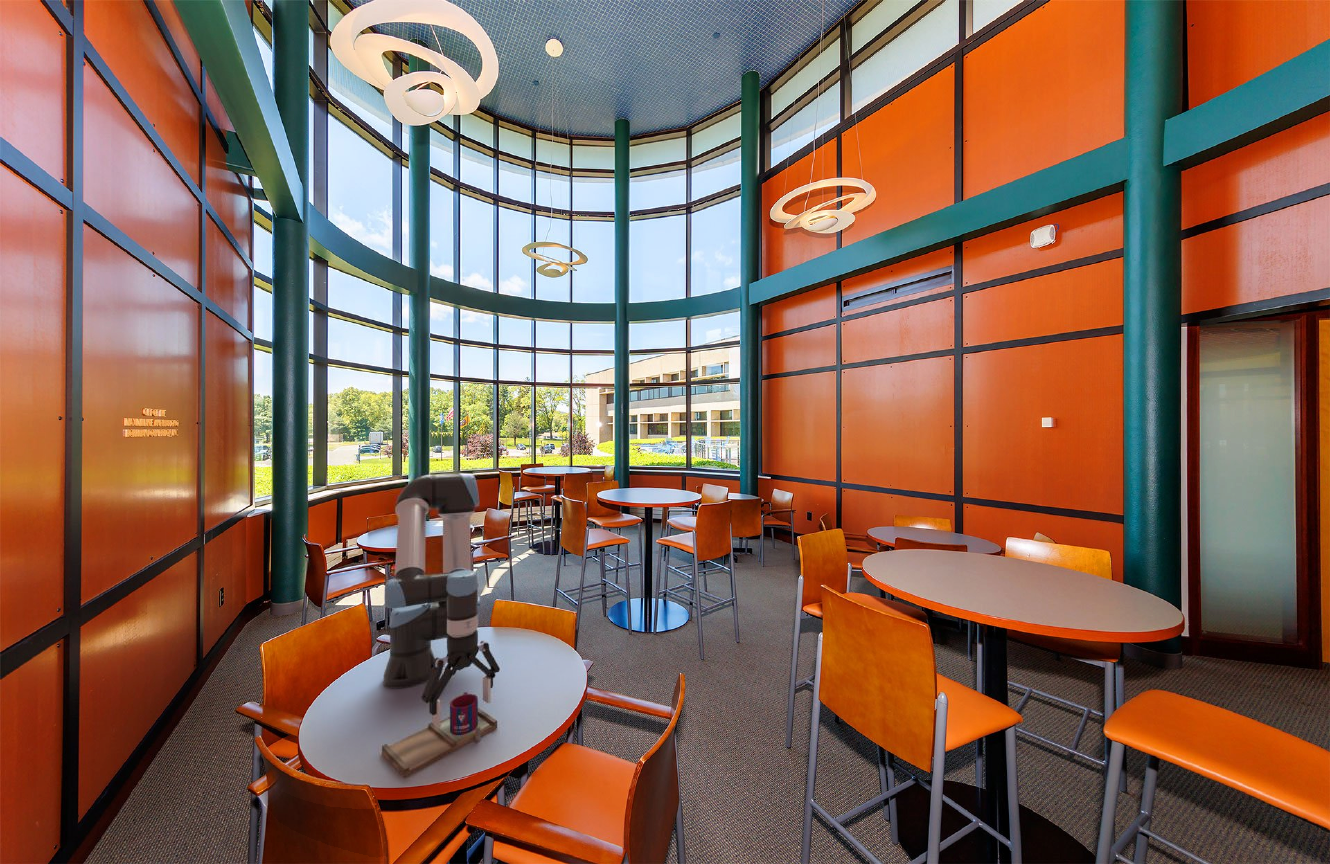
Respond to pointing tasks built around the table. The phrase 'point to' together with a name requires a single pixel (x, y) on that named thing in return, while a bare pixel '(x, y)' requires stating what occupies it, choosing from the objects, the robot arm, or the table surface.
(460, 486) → the robot arm
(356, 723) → the table surface
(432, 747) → the brown divided flat frame
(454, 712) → the mug
